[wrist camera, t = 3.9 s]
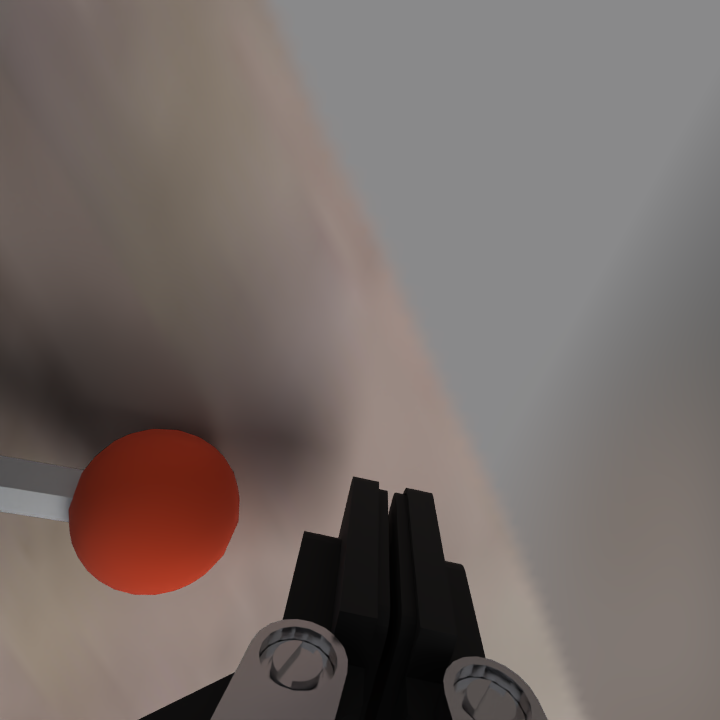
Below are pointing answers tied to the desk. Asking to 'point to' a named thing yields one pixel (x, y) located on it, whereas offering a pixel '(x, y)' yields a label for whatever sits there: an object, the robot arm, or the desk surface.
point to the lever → (135, 508)
